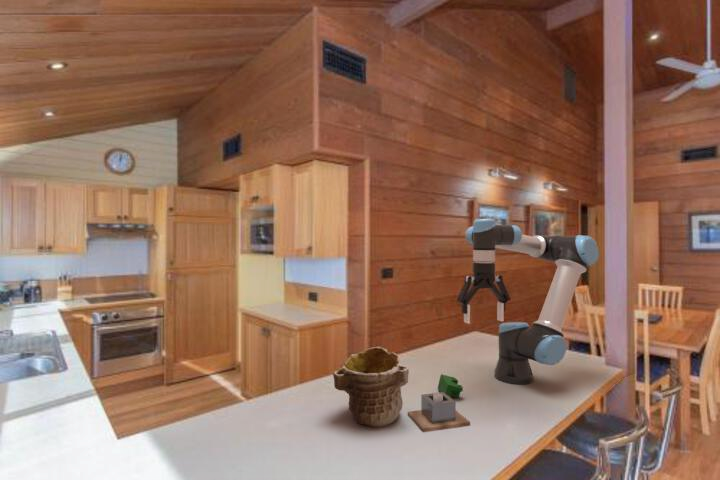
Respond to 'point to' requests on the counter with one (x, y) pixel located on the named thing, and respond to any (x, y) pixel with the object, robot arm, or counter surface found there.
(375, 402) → the ceramic vessel
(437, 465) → the counter surface
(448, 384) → the clamp
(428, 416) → the collar
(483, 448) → the counter surface
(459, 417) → the post board
